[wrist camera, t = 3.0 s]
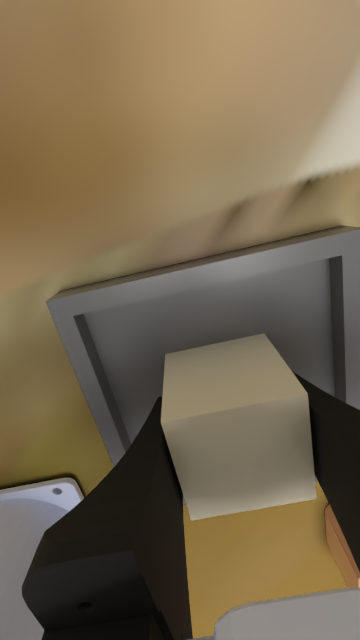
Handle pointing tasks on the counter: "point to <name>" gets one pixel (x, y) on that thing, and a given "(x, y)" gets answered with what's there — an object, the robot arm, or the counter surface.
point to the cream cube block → (237, 427)
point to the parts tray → (214, 322)
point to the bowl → (341, 550)
